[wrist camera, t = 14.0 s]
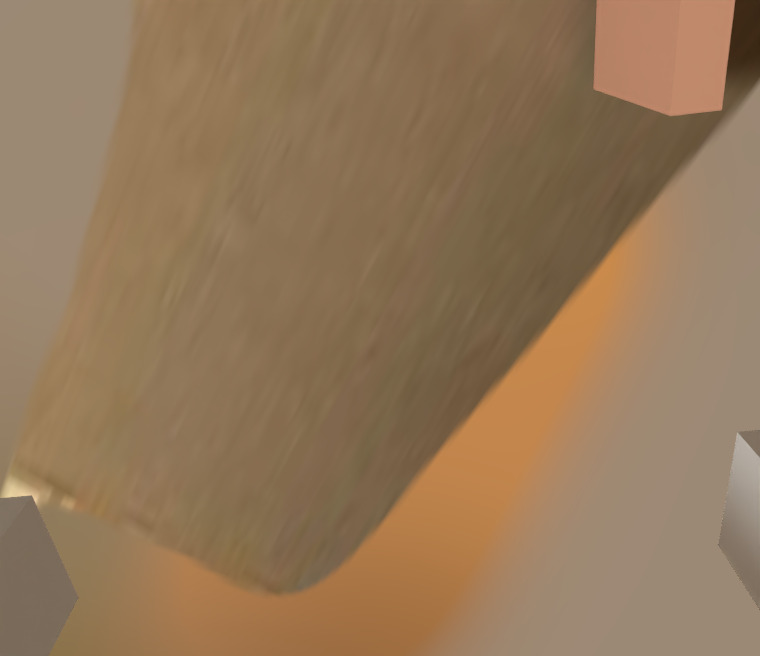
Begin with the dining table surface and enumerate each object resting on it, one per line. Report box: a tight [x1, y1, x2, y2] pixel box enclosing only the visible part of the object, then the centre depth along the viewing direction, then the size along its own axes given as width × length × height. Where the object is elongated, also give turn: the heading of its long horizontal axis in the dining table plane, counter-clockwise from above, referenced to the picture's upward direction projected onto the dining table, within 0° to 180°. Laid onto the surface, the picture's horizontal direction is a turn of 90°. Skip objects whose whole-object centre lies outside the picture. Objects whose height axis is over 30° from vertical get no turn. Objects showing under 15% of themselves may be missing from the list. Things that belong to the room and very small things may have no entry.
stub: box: [594, 0, 735, 116], centre depth 28 cm, size 7×2×10 cm, turn 6°
